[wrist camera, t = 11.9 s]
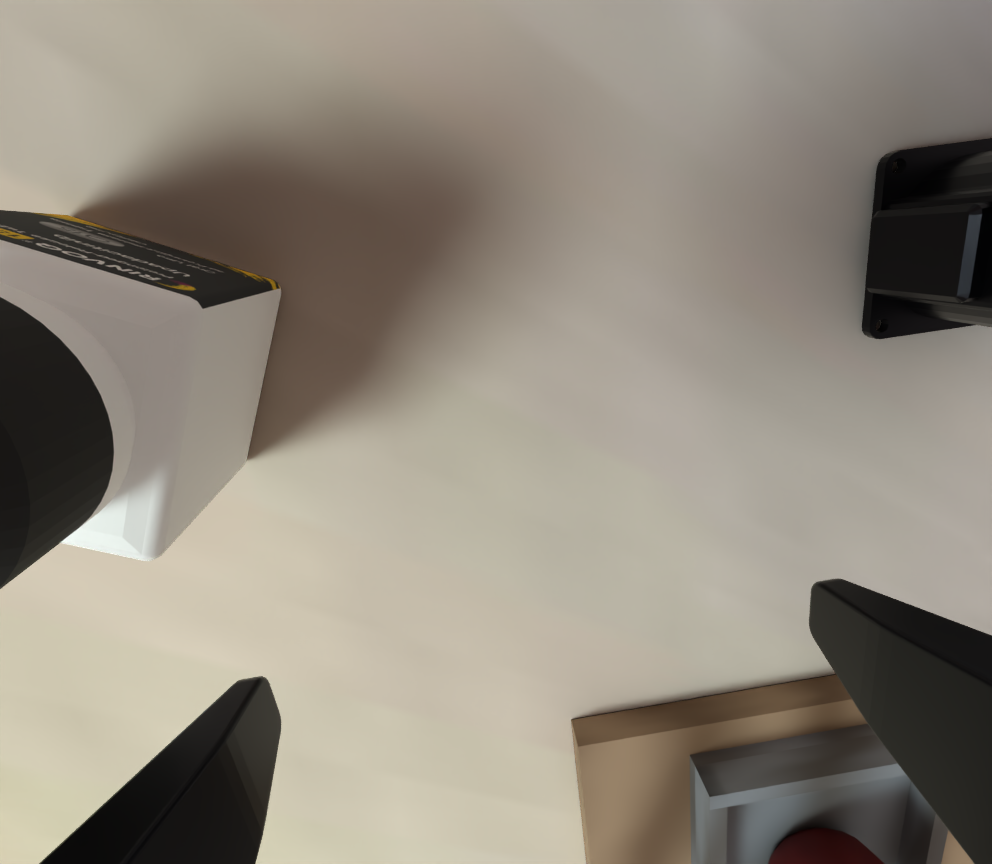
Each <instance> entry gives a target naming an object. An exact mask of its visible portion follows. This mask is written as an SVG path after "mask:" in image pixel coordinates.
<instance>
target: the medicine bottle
mask: <svg viewBox="0 0 992 864" xmlns="http://www.w3.org/2000/svg"><path fill="white" fill-rule="evenodd" d="M280 297H281V287H280V286H279V284H278V283H277V282H275V281H274V280H272V279H268V278H265V277H262V276H259V275H256V274H252V273H249V272H246V271H243V270H240V269H237V268H233V267H230V266H227V265H224V264H221V263H218V262H214V261H211V260H208V259H205V258H202V257H198V256H195V255H192V254H189V253H186V252H183V251H179V250H176V249H173V248H170V247H167V246H164V245H160V244H157V243H154V242H151V241H148V240H144V239H141V238H138V237H135V236H132V235H129V234H125V233H122V232H119V231H116V230H113V229H110V228H106V227H103V226H100V225H97V224H94V223H90V222H87V221H84V220H81V219H78V218H75V217H71V216H68V215H56V214H43V213H30V212H17V211H4V210H0V589H1V588H2V587H3V586H5V585H6V584H7V583H9V582H10V581H11V580H12V579H14V578H15V577H16V576H18V575H19V574H20V573H21V572H23V571H24V570H25V569H27V568H28V567H29V566H31V565H32V564H33V563H34V562H36V561H37V560H38V559H40V558H41V557H42V556H43V555H45V554H46V553H47V552H49V551H50V550H51V549H52V548H54V547H55V546H56V545H58V544H59V543H64V544H69V545H73V546H78V547H82V548H87V549H92V550H96V551H101V552H105V553H110V554H115V555H119V556H124V557H129V558H133V559H138V560H142V561H151V560H153V559H155V558H157V557H159V556H161V555H162V554H163V553H164V552H165V551H166V550H167V549H168V548H169V546H170V545H171V544H172V543H173V542H174V541H175V540H176V539H177V538H178V537H179V536H180V534H181V533H182V532H183V531H184V530H185V529H186V528H187V527H188V526H189V525H190V523H191V522H192V521H193V520H194V519H195V518H196V517H197V516H198V515H199V514H200V513H201V511H202V510H203V509H204V508H205V507H206V506H207V505H208V504H209V503H210V502H211V501H212V499H213V498H214V497H215V496H216V495H217V494H218V493H219V492H220V491H221V490H222V489H223V487H224V486H225V485H226V484H227V483H228V482H229V481H230V480H231V479H232V478H233V476H234V475H235V474H236V473H237V472H238V471H239V470H240V469H241V468H242V467H243V466H244V464H245V462H246V461H247V456H248V451H249V446H250V442H251V437H252V432H253V427H254V422H255V418H256V413H257V408H258V403H259V398H260V394H261V389H262V384H263V379H264V374H265V370H266V365H267V360H268V355H269V350H270V345H271V341H272V336H273V331H274V326H275V321H276V317H277V312H278V307H279V302H280Z"/></svg>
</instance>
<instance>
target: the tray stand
mask: <svg viewBox="0 0 992 864" xmlns="http://www.w3.org/2000/svg"><path fill="white" fill-rule="evenodd" d="M571 723H572V732H573V742H574V751H575V761H576V770H577V779H578V789H579V798H580V807H581V817H582V826H583V835H584V845H585V854H586V864H768V862H769V859H770V857H771V854H772V853H773V852H774V850H775V848H776V847H777V846H778V845H779V844H780V843H781V842H782V841H783V840H784V839H785V838H786V837H788V836H790V835H792V834H794V833H796V832H798V831H800V830H804V829H810V828H816V827H817V828H828V829H833V830H839V831H843V832H845V833H847V834H849V835H851V836H853V837H855V838H857V839H858V840H859V841H860V842H861V843H862V844H864V845H865V846H866V847H867V848H868V849H869V850H870V851H872V852H873V853H874V854H875V855H876V856H877V857H878V858H879V859H880V860H881V861H882V862H883V863H884V864H974V863H973V861H972V860H971V859H970V858H969V856H968V855H967V854H966V852H965V851H964V850H963V848H962V847H961V846H960V844H959V843H958V842H957V841H956V839H955V838H954V837H953V835H952V834H951V833H950V831H949V830H948V829H947V827H946V826H945V825H944V824H943V822H942V821H941V820H940V818H939V817H938V816H937V814H936V813H935V812H934V810H933V809H932V808H931V807H930V805H929V804H928V803H927V801H926V800H925V799H924V797H923V796H922V795H921V793H920V792H919V791H918V790H917V788H916V787H915V786H914V784H913V783H912V782H911V780H910V779H909V778H908V776H907V775H906V774H905V772H904V771H903V770H902V769H901V767H900V766H899V765H898V763H897V762H896V761H895V759H894V758H893V757H892V755H891V754H890V753H889V752H888V750H887V749H886V748H885V746H884V745H883V744H882V742H881V741H880V740H879V738H878V737H877V736H876V734H875V733H874V732H873V730H872V729H871V728H870V726H869V725H868V723H867V722H866V720H865V719H864V717H863V716H862V714H861V713H860V711H859V710H858V708H857V707H856V705H855V703H854V702H853V700H852V699H851V697H850V696H849V694H848V692H847V691H846V689H845V688H844V686H843V684H842V683H841V681H840V680H839V678H838V676H837V675H831V676H825V677H819V678H813V679H807V680H801V681H796V682H790V683H784V684H778V685H772V686H766V687H760V688H755V689H749V690H743V691H737V692H731V693H725V694H720V695H714V696H708V697H702V698H696V699H690V700H684V701H679V702H673V703H667V704H661V705H655V706H649V707H644V708H638V709H632V710H626V711H620V712H614V713H609V714H603V715H597V716H591V717H585V718H579V719H573V720H571Z"/></svg>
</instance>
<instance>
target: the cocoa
mask: <svg viewBox="0 0 992 864" xmlns="http://www.w3.org/2000/svg"><path fill="white" fill-rule="evenodd" d="M768 864H884V863H883V862H882V861H881V860H880V859H879V858H878V857H877V856H876V855H875V854H874V853H873V852H872V851H870V850H869V849H868V848H867V847H866V846H865V845H864V844H862V843H861V842H860V841H859V840H858V839H857V838H855V837H853V836H851V835H849V834H847V833H845V832H843V831H839V830H833V829H828V828H817V827H816V828H810V829H804V830H800V831H798V832H796V833H794V834H792V835H790V836H788V837H786V838H785V839H784V840H783V841H782V842H781V843H780V844H779V845H778V846H777V847H776V848H775V850H774V852H773V853H772V854H771V857H770V859H769V862H768Z"/></svg>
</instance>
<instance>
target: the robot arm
mask: <svg viewBox="0 0 992 864" xmlns="http://www.w3.org/2000/svg"><path fill="white" fill-rule="evenodd" d="M895 161H896V163H897V170H896V172H895V173H893V171H892V165H893V163H894V162H895ZM879 320H881V325H880V327H879V328H878V329H877V330H876V324H877V322H878V321H879ZM972 325H981V326H988V327H992V138H990V139H982V140H975V141H967V142H959V143H952V144H944V145H937V146H929V147H922V148H914V149H907V150H900V151H895V152H891V153H888V154H886V155H885V156H884V157H882V158H881V160H880V162H879V163H878V166H877V171H876V181H875V192H874V203H873V214H872V221H871V231H870V242H869V253H868V263H867V274H866V288H865V299H864V310H863V320H862V331H863V333H864V334H865V335H866V336H868V337H871V338H876V339H884V338H890V337H897V336H904V335H911V334H918V333H925V332H931V331H938V330H945V329H952V328H959V327H965V326H972ZM809 626H810V631H811V634H812V636H813V638H814V640H815V641H816V643H817V645H818V646H819V648H820V649H821V651H822V653H823V654H824V656H825V657H826V659H827V660H828V662H829V664H830V665H831V667H832V668H833V670H834V672H835V673H836V675H837V676H838V678H839V680H840V681H841V683H842V684H843V686H844V688H845V689H846V691H847V692H848V694H849V696H850V697H851V699H852V700H853V702H854V703H855V705H856V707H857V708H858V710H859V711H860V713H861V714H862V716H863V717H864V719H865V720H866V722H867V723H868V725H869V726H870V728H871V729H872V730H873V732H874V733H875V734H876V736H877V737H878V738H879V740H880V741H881V742H882V744H883V745H884V746H885V748H886V749H887V750H888V752H889V753H890V754H891V755H892V757H893V758H894V759H895V761H896V762H897V763H898V765H899V766H900V767H901V769H902V770H903V771H904V772H905V774H906V775H907V776H908V778H909V779H910V780H911V782H912V783H913V784H914V786H915V787H916V788H917V790H918V791H919V792H920V793H921V795H922V796H923V797H924V799H925V800H926V801H927V803H928V804H929V805H930V807H931V808H932V809H933V810H934V812H935V813H936V814H937V816H938V817H939V818H940V820H941V821H942V822H943V824H944V825H945V826H946V827H947V829H948V830H949V831H950V833H951V834H952V835H953V837H954V838H955V839H956V841H957V842H958V843H959V844H960V846H961V847H962V848H963V850H964V851H965V852H966V854H967V855H968V856H969V858H970V859H971V860H972V861H973V863H974V864H992V636H991V635H989V634H986V633H983V632H981V631H978V630H975V629H973V628H970V627H968V626H965V625H962V624H960V623H957V622H954V621H952V620H949V619H946V618H944V617H941V616H938V615H936V614H933V613H930V612H928V611H925V610H922V609H920V608H917V607H914V606H912V605H909V604H906V603H904V602H901V601H899V600H896V599H893V598H891V597H888V596H885V595H883V594H880V593H877V592H875V591H872V590H869V589H867V588H864V587H861V586H859V585H856V584H853V583H851V582H848V581H846V580H843V579H830V580H824V581H819V582H816V583H815V584H814V585H813V586H812V589H811V600H810V615H809ZM280 733H281V717H280V713H279V710H278V707H277V704H276V701H275V698H274V695H273V692H272V690H271V687H270V684H269V682H268V680H267V679H266V678H265V677H262V676H260V677H254V678H248V679H242V680H239V681H237V682H236V683H235V684H233V685H232V686H231V687H230V688H229V689H228V690H227V691H226V692H225V693H224V694H223V695H222V696H220V697H219V698H218V699H217V700H216V701H215V702H214V703H213V704H212V705H211V706H210V707H209V708H207V709H206V710H205V711H204V712H203V713H202V714H201V715H200V716H199V717H198V718H197V719H196V720H194V721H193V722H192V723H191V724H190V725H189V726H188V727H187V728H186V729H185V730H184V731H183V732H181V733H180V734H179V735H178V736H177V737H176V738H175V739H174V740H173V741H172V742H171V743H170V744H168V745H167V746H166V747H165V748H164V749H163V750H162V751H161V752H160V753H159V754H158V755H156V756H155V757H154V758H153V759H152V760H151V761H150V762H149V763H148V764H147V765H146V766H145V767H143V768H142V769H141V770H140V771H139V772H138V773H137V774H136V775H135V776H134V777H133V778H132V779H130V780H129V781H128V782H127V783H126V784H125V785H124V786H123V787H122V788H121V789H120V790H119V791H117V792H116V793H115V794H114V795H113V796H112V797H111V798H110V799H109V800H108V801H107V802H106V803H104V804H103V805H102V806H101V807H100V808H99V809H98V810H97V811H96V812H95V813H94V814H93V815H91V816H90V817H89V818H88V819H87V820H86V821H85V822H84V823H83V824H82V825H81V826H80V827H78V828H77V829H76V830H75V831H74V832H73V833H72V834H71V835H70V836H69V837H68V838H66V839H65V840H64V841H63V842H62V843H61V844H60V845H59V846H58V847H57V848H56V849H55V850H53V851H52V852H51V853H50V854H49V855H48V856H47V857H46V858H45V859H44V860H43V861H42V862H40V863H39V864H255V863H256V859H257V855H258V852H259V848H260V844H261V840H262V836H263V831H264V826H265V821H266V815H267V810H268V804H269V798H270V792H271V786H272V780H273V774H274V768H275V762H276V757H277V751H278V745H279V739H280Z"/></svg>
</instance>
